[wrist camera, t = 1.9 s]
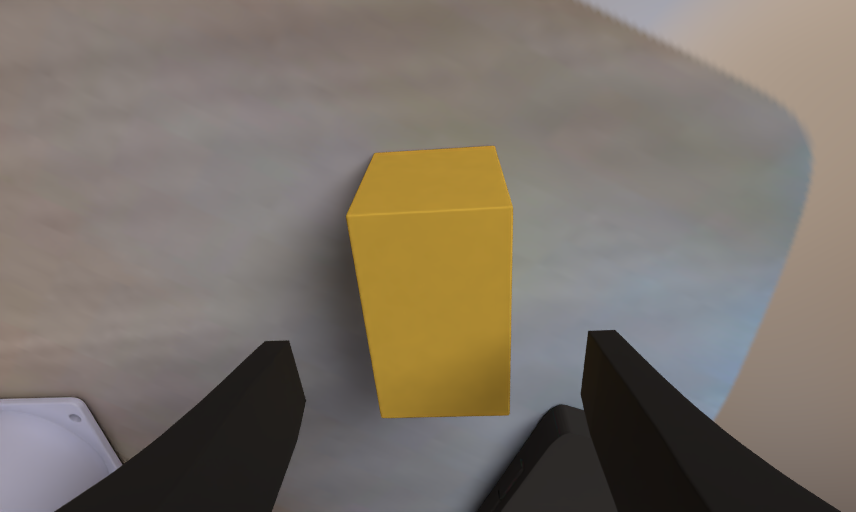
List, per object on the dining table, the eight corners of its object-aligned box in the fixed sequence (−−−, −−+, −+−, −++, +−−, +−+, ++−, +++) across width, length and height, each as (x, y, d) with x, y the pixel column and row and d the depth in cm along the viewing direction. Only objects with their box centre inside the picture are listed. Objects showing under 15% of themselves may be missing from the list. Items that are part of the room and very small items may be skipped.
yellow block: (495, 317, 19) (509, 416, 14) (396, 320, 19) (381, 419, 15) (494, 145, 15) (513, 206, 11) (373, 152, 16) (344, 215, 11)
